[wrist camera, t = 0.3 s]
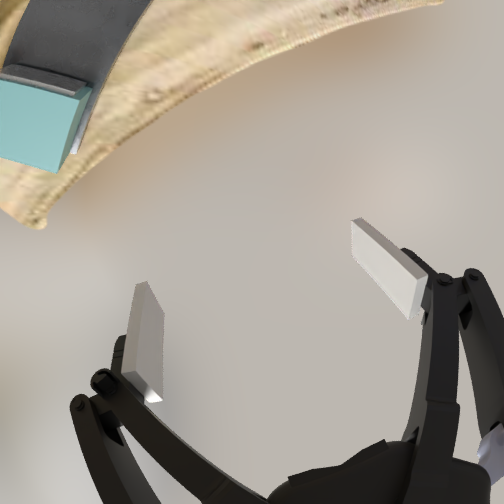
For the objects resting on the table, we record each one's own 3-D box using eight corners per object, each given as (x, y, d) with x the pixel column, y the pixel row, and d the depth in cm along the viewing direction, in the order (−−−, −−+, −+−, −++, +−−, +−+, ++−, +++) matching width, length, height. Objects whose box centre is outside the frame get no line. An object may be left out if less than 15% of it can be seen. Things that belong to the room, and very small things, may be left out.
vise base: (74, -58, 8) (54, -72, 3) (178, -32, 18) (181, -47, 12) (-6, 124, 22) (-33, 148, 17) (79, 148, 32) (64, 176, 26)
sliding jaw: (9, 62, 16) (-15, 72, 12) (94, 84, 24) (81, 95, 21) (-8, 129, 21) (-29, 149, 17) (69, 151, 29) (57, 173, 26)
